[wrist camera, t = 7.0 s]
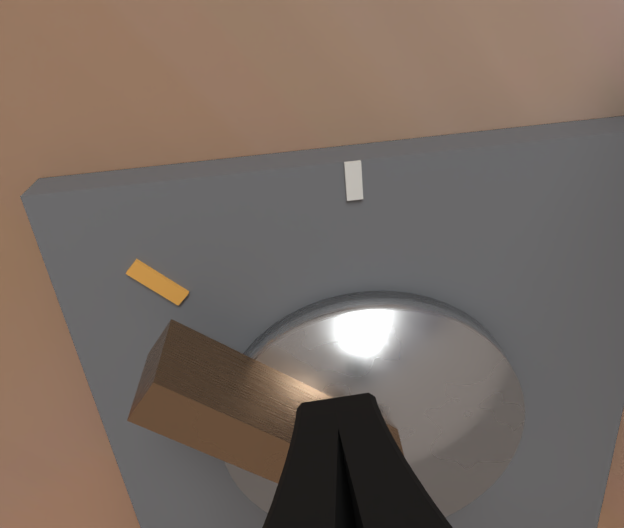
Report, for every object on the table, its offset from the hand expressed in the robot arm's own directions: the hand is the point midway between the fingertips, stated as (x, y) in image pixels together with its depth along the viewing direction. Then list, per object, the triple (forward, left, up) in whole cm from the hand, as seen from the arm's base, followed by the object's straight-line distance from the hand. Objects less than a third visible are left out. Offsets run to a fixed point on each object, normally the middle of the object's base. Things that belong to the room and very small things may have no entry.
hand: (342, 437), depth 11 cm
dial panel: (-1, +8, -10) cm, 13 cm away
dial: (0, +7, -9) cm, 11 cm away
